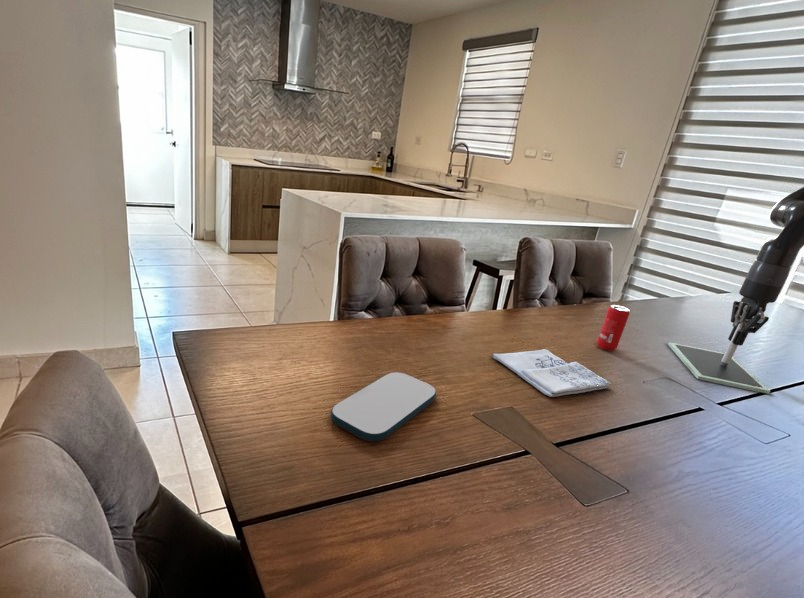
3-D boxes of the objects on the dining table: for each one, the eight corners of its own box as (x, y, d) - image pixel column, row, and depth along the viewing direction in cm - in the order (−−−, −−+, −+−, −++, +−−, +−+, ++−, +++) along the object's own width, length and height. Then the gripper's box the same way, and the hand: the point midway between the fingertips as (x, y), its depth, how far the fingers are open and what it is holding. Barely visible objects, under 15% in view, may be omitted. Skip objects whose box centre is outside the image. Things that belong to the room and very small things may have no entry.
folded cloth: (550, 400, 100) (553, 391, 100) (489, 357, 117) (491, 349, 116) (611, 389, 108) (614, 381, 107) (546, 351, 125) (548, 343, 124)
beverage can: (592, 342, 135) (606, 303, 130) (610, 344, 135) (624, 305, 130) (600, 350, 130) (615, 310, 125) (619, 352, 130) (634, 312, 125)
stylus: (725, 364, 128) (745, 324, 123) (728, 367, 126) (748, 326, 122) (718, 363, 128) (737, 322, 124) (721, 365, 127) (740, 325, 122)
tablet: (728, 356, 137) (729, 353, 136) (769, 394, 116) (770, 390, 116) (667, 344, 140) (669, 341, 140) (697, 379, 119) (699, 375, 119)
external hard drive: (375, 449, 78) (376, 439, 77) (322, 420, 84) (323, 410, 83) (440, 398, 96) (442, 389, 95) (393, 376, 102) (394, 368, 101)
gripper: (797, 291, 111) (763, 356, 118) (767, 276, 123) (738, 336, 130) (761, 284, 112) (730, 349, 119) (735, 271, 125) (708, 330, 132)
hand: (734, 342), depth 125 cm, fingers closed on stylus, 2 cm apart
